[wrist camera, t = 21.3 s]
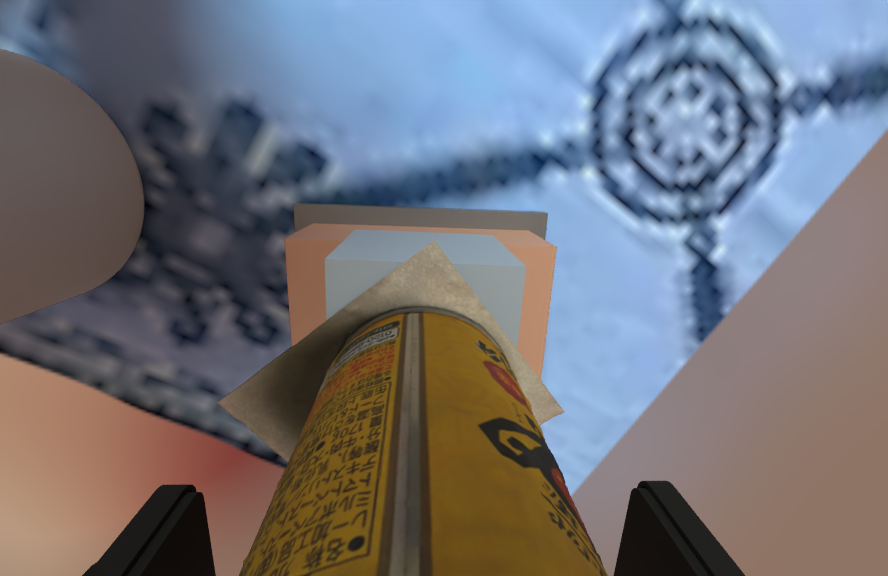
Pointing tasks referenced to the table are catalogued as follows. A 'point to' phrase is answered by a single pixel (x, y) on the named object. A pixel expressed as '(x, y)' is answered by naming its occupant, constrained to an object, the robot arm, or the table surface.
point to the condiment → (411, 443)
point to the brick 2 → (322, 239)
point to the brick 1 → (383, 251)
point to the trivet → (419, 217)
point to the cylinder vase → (60, 190)
